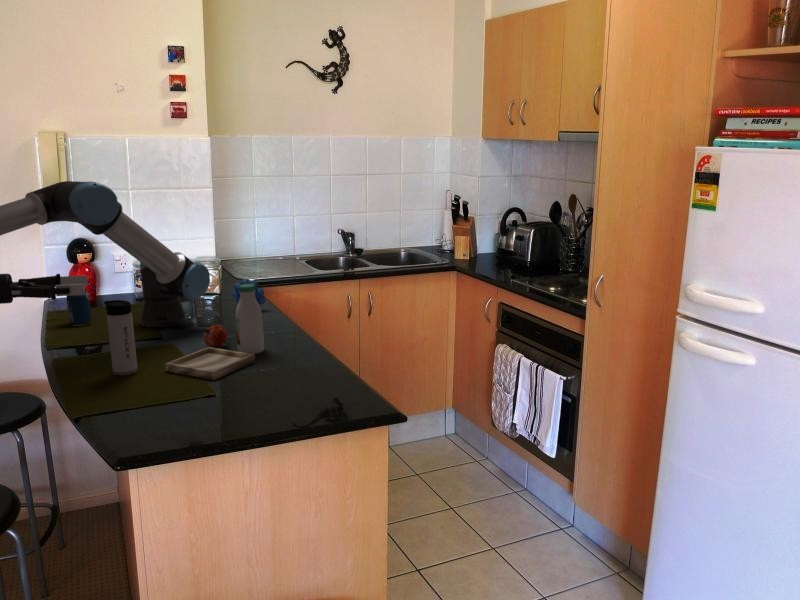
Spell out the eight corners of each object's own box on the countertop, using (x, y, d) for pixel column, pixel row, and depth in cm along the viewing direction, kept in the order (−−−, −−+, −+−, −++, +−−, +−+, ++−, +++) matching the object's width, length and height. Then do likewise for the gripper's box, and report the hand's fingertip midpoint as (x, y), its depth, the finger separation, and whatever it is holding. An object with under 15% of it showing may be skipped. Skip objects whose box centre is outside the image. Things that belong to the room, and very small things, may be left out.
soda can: (96, 322, 247) (92, 288, 245) (85, 327, 241) (81, 292, 238) (76, 321, 248) (72, 288, 245) (65, 327, 241) (61, 292, 239)
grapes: (231, 314, 255) (229, 281, 252) (234, 310, 262) (232, 278, 259) (264, 313, 256) (262, 280, 253) (266, 309, 262) (264, 277, 260)
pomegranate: (219, 349, 221) (192, 335, 215) (232, 330, 222) (206, 315, 216) (226, 358, 215) (199, 344, 209) (240, 338, 216) (214, 323, 210)
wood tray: (165, 371, 195) (165, 363, 194) (208, 354, 209) (208, 346, 209) (214, 380, 187) (213, 372, 187) (255, 361, 202) (254, 354, 201)
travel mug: (115, 369, 197) (108, 298, 193) (140, 368, 198) (133, 297, 193) (108, 376, 191) (100, 303, 186) (134, 375, 192) (126, 303, 187)
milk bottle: (269, 348, 214) (265, 283, 209) (255, 356, 207) (251, 288, 202) (246, 346, 216) (242, 281, 212) (232, 354, 209) (228, 287, 205)
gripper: (3, 294, 191) (89, 290, 199) (-14, 313, 168) (84, 308, 176) (0, 267, 190) (87, 263, 197) (-17, 282, 167) (82, 278, 174)
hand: (86, 284), depth 186 cm, fingers open, 13 cm apart
